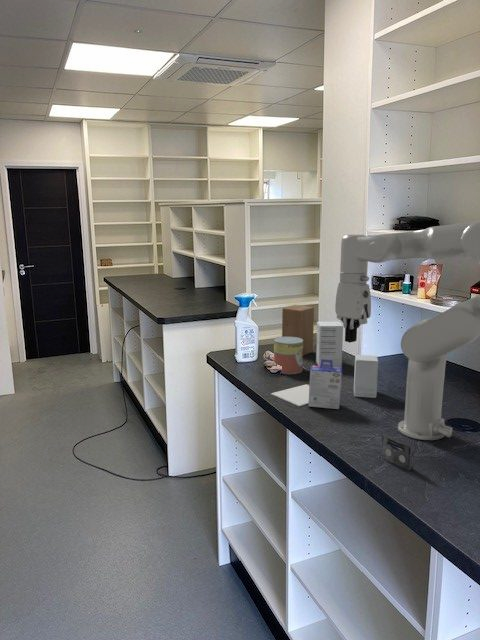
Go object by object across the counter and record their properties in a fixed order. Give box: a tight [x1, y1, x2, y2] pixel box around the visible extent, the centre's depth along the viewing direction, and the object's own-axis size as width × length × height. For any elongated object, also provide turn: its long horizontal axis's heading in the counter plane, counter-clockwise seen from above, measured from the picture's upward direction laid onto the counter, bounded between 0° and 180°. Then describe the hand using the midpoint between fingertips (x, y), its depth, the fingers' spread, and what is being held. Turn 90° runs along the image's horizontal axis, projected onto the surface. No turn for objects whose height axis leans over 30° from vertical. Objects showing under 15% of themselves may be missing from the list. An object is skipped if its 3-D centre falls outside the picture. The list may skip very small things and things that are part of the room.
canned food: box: [273, 336, 304, 375], centre depth 200 cm, size 11×11×12 cm
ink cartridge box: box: [307, 359, 343, 410], centre depth 161 cm, size 10×6×14 cm, turn 80°
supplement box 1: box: [315, 321, 344, 368], centre depth 206 cm, size 10×9×17 cm
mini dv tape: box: [380, 434, 415, 472], centre depth 125 cm, size 8×2×6 cm, turn 35°
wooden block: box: [281, 304, 315, 356], centre depth 224 cm, size 10×10×20 cm
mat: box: [270, 384, 309, 408], centre depth 172 cm, size 14×16×1 cm
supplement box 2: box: [353, 354, 379, 399], centre depth 173 cm, size 7×7×13 cm
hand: (350, 341), depth 151 cm, fingers closed
